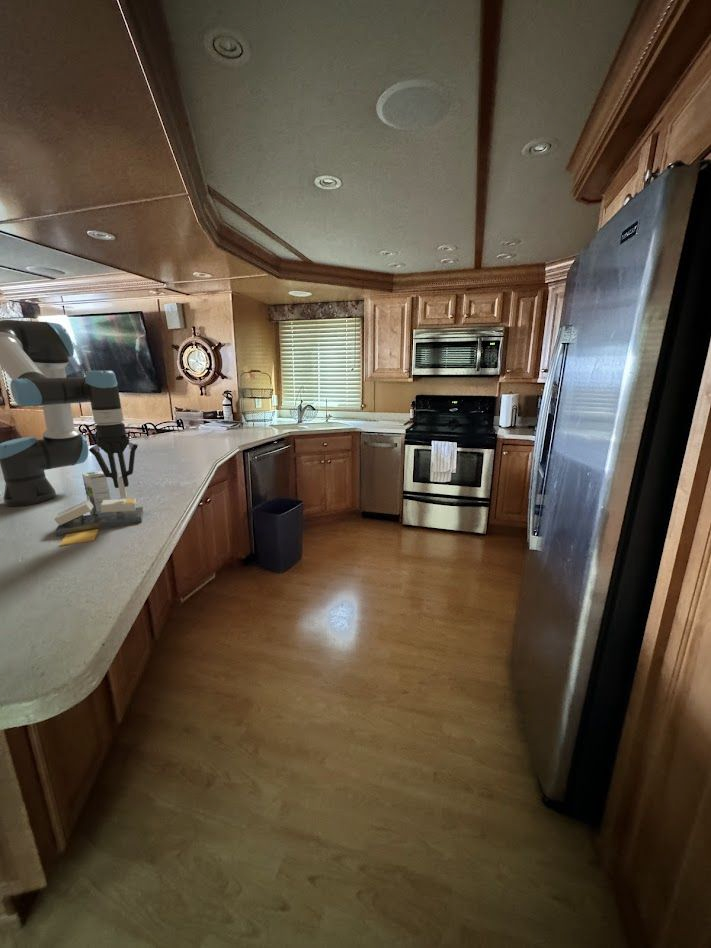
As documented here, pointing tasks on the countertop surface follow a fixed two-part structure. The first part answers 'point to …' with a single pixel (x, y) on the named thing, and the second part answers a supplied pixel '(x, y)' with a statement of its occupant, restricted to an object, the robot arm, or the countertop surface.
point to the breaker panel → (100, 521)
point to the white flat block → (73, 512)
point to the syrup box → (96, 489)
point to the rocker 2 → (118, 505)
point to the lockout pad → (79, 537)
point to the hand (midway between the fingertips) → (123, 496)
